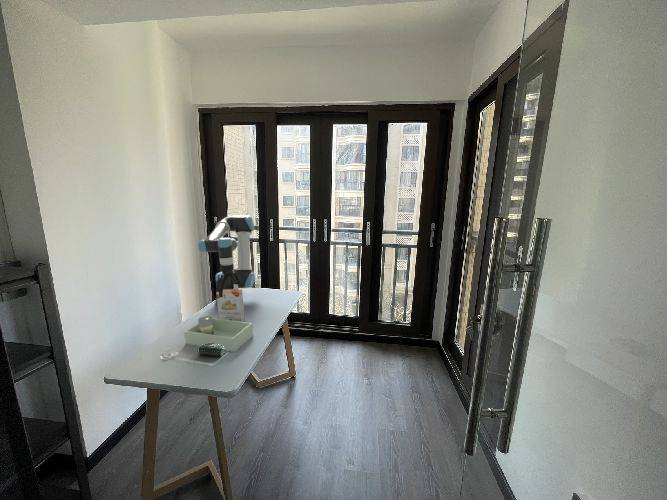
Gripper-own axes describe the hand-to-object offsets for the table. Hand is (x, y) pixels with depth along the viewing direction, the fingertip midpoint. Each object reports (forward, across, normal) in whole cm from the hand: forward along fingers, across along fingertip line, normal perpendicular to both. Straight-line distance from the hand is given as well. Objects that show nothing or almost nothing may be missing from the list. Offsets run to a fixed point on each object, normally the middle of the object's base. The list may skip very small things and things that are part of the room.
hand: (229, 298), depth 168 cm
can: (+16, +20, -2) cm, 25 cm away
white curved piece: (+17, +41, -7) cm, 45 cm away
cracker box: (+16, 0, 0) cm, 16 cm away
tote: (+16, +20, +7) cm, 26 cm away
